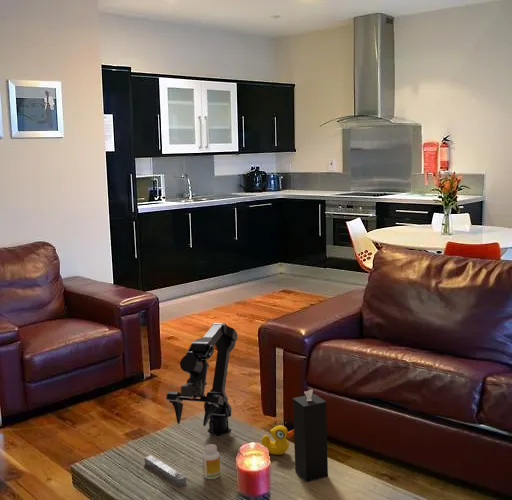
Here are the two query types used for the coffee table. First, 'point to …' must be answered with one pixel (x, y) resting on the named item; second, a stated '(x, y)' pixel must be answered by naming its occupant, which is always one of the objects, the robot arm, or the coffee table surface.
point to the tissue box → (310, 436)
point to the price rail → (165, 471)
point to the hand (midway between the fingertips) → (191, 424)
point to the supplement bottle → (211, 462)
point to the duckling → (278, 440)
